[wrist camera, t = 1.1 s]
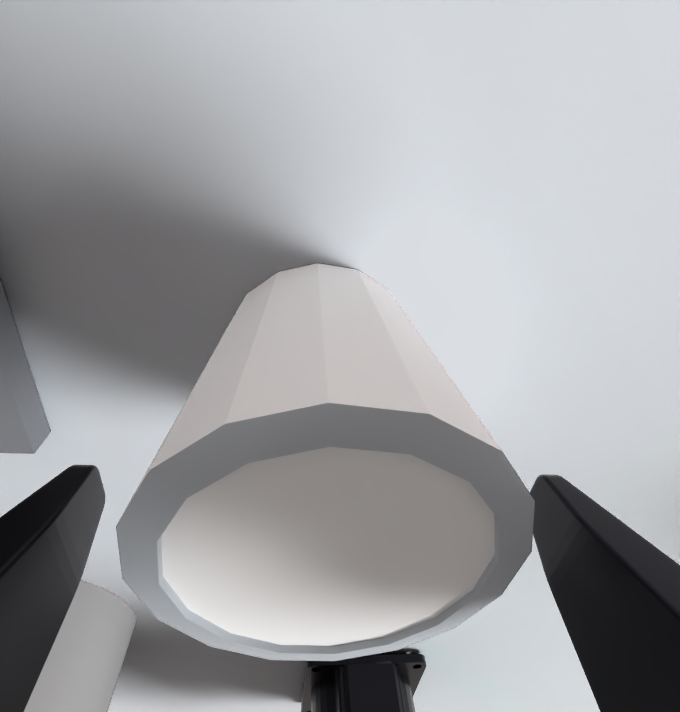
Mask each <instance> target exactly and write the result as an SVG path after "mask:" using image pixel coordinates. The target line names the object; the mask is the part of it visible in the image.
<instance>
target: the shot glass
mask: <svg viewBox="0 0 680 712" xmlns="http://www.w3.org/2000/svg"><path fill="white" fill-rule="evenodd" d="M534 507H535V500H534V499H533V497H532V496H531V494H530V493H529V491H528V490H527V488H526V487H525V485H524V484H523V482H522V481H521V479H520V478H519V476H518V475H517V473H516V472H515V470H514V469H513V467H512V465H511V464H510V462H509V461H508V459H507V458H506V456H505V455H504V453H503V452H502V450H501V449H500V447H499V446H498V445H497V443H496V442H495V440H494V439H493V437H492V436H491V435H490V433H489V432H488V430H487V429H486V427H485V426H484V425H483V423H482V422H481V420H480V419H479V417H478V416H477V415H476V413H475V412H474V410H473V409H472V407H471V406H470V405H469V403H468V402H467V400H466V399H465V397H464V396H463V395H462V393H461V392H460V390H459V389H458V387H457V386H456V385H455V383H454V382H453V380H452V379H451V377H450V376H449V375H448V373H447V372H446V370H445V369H444V367H443V366H442V365H441V363H440V362H439V360H438V359H437V357H436V356H435V355H434V353H433V352H432V350H431V349H430V347H429V346H428V345H427V343H426V342H425V340H424V339H423V337H422V336H421V334H420V333H419V332H418V330H417V329H416V327H415V326H414V324H413V323H412V322H411V320H410V319H409V317H408V316H407V314H406V313H405V312H404V310H403V309H402V307H401V306H400V304H399V303H398V302H397V300H396V299H395V297H394V296H393V294H392V293H391V292H390V290H389V289H388V288H386V287H384V286H383V285H381V284H380V283H378V282H376V281H375V280H373V279H371V278H370V277H368V276H367V275H365V274H363V273H362V272H360V271H358V270H356V269H350V268H344V267H338V266H332V265H326V264H319V263H316V264H312V265H307V266H302V267H298V268H293V269H289V270H284V271H280V272H277V273H276V274H274V275H273V276H271V277H270V278H269V279H267V280H266V281H264V282H263V283H261V284H260V285H259V286H257V287H256V288H254V289H253V290H251V291H250V292H249V293H247V294H246V296H245V298H244V299H243V301H242V303H241V304H240V306H239V308H238V310H237V311H236V313H235V315H234V316H233V318H232V320H231V322H230V323H229V325H228V327H227V329H226V330H225V332H224V334H223V336H222V338H221V339H220V341H219V343H218V345H217V347H216V348H215V350H214V352H213V354H212V356H211V357H210V359H209V361H208V363H207V364H206V366H205V368H204V370H203V372H202V373H201V375H200V377H199V379H198V381H197V382H196V384H195V386H194V388H193V390H192V391H191V393H190V395H189V397H188V399H187V400H186V402H185V404H184V406H183V407H182V409H181V411H180V413H179V415H178V416H177V418H176V420H175V422H174V424H173V425H172V427H171V429H170V431H169V433H168V434H167V436H166V438H165V440H164V442H163V443H162V445H161V447H160V449H159V450H158V452H157V454H156V456H155V458H154V459H153V461H152V463H151V465H150V467H149V468H148V470H147V472H146V474H145V476H144V477H143V479H142V481H141V483H140V485H139V486H138V488H137V490H136V492H135V494H134V495H133V497H132V499H131V501H130V502H129V504H128V506H127V508H126V510H125V511H124V513H123V515H122V517H121V519H120V520H119V522H118V524H117V526H116V530H117V539H118V547H119V555H120V563H121V571H122V579H123V580H124V581H125V582H126V584H127V585H128V586H129V587H130V588H131V589H132V591H133V592H134V593H135V594H136V595H137V596H138V598H139V599H140V600H141V601H142V602H143V603H144V605H145V606H146V607H147V608H148V609H149V610H150V612H151V613H152V614H153V615H154V616H155V617H156V619H157V620H159V621H161V622H163V623H165V624H167V625H169V626H171V627H173V628H175V629H176V630H178V631H180V632H182V633H184V634H186V635H188V636H190V637H192V638H194V639H196V640H198V641H200V642H202V643H204V644H206V645H207V646H209V647H213V648H218V649H222V650H227V651H232V652H236V653H241V654H245V655H250V656H254V657H259V658H263V659H268V660H295V661H338V660H344V659H350V658H355V657H361V656H367V655H372V654H378V653H384V652H390V651H395V650H399V649H402V648H404V647H407V646H409V645H412V644H415V643H417V642H420V641H422V640H425V639H427V638H430V637H433V636H435V635H438V634H440V633H443V632H445V631H448V630H451V629H453V628H455V627H457V626H458V625H460V624H461V623H462V622H464V621H465V620H467V619H468V618H469V617H471V616H472V615H474V614H475V613H477V612H478V611H479V610H481V609H482V608H484V607H485V606H486V605H488V604H489V603H491V602H492V601H493V600H495V599H496V598H498V597H499V596H501V595H502V594H503V592H504V591H505V589H506V588H507V586H508V585H509V583H510V582H511V581H512V579H513V578H514V576H515V575H516V573H517V572H518V570H519V569H520V567H521V566H522V565H523V563H524V562H525V560H526V559H527V557H528V556H529V554H530V553H531V551H532V538H533V522H534Z"/></svg>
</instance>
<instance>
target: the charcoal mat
mask: <svg viewBox="0 0 680 712" xmlns="http://www.w3.org/2000/svg"><path fill="white" fill-rule="evenodd" d="M50 432H51V430H50V427H49V424H48V421H47V418H46V415H45V412H44V409H43V406H42V403H41V400H40V397H39V394H38V391H37V388H36V385H35V382H34V379H33V376H32V373H31V370H30V367H29V364H28V361H27V358H26V355H25V352H24V349H23V346H22V343H21V340H20V337H19V334H18V331H17V328H16V325H15V322H14V319H13V316H12V313H11V310H10V307H9V304H8V301H7V298H6V295H5V292H4V289H3V286H2V283H1V280H0V453H27V454H34V453H35V452H36V451H37V449H38V448H39V447H40V445H41V444H42V443H43V441H44V440H45V439H46V437H47V436H48V435H49V433H50Z"/></svg>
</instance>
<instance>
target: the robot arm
mask: <svg viewBox="0 0 680 712" xmlns="http://www.w3.org/2000/svg"><path fill="white" fill-rule="evenodd" d="M530 494H531V496H532V497H533V499H534V500H535V507H534V522H533V535H534V538H535V542H536V545H537V548H538V552H539V555H540V558H541V562H542V565H543V568H544V572H545V575H546V578H547V581H548V583H549V586H550V588H551V591H552V594H553V596H554V599H555V601H556V604H557V606H558V608H559V611H560V613H561V616H562V618H563V621H564V623H565V626H566V628H567V630H568V633H569V635H570V638H571V640H572V643H573V645H574V648H575V650H576V653H577V655H578V657H579V660H580V662H581V665H582V667H583V670H584V672H585V675H586V677H587V680H588V682H589V684H590V687H591V689H592V692H593V694H594V697H595V699H596V702H597V704H598V707H599V709H600V711H601V712H680V565H679V564H678V563H676V562H675V561H674V560H672V559H671V558H669V557H668V556H667V555H665V554H664V553H663V552H661V551H660V550H659V549H657V548H656V547H655V546H653V545H652V544H651V543H649V542H648V541H647V540H645V539H644V538H643V537H641V536H640V535H639V534H637V533H636V532H635V531H633V530H632V529H631V528H629V527H628V526H627V525H625V524H624V523H623V522H621V521H620V520H619V519H617V518H616V517H615V516H613V515H612V514H611V513H609V512H608V511H607V510H605V509H604V508H603V507H601V506H600V505H599V504H597V503H596V502H595V501H593V500H592V499H591V498H589V497H588V496H587V495H585V494H584V493H583V492H581V491H580V490H579V489H577V488H576V487H575V486H573V485H572V484H571V483H569V482H568V481H567V480H565V479H564V478H562V477H561V476H558V475H540V476H539V477H537V479H536V481H535V483H534V485H533V487H532V489H531V491H530ZM104 504H105V492H104V488H103V484H102V481H101V477H100V473H99V470H98V468H97V467H96V466H94V465H73V466H71V467H69V468H67V469H66V470H65V471H63V472H62V473H60V474H59V475H58V476H56V477H55V478H54V479H52V480H51V481H50V482H48V483H47V484H45V485H44V486H43V487H41V488H40V489H39V490H37V491H36V492H34V493H33V494H32V495H30V496H29V497H28V498H26V499H25V500H24V501H22V502H21V503H19V504H18V505H17V506H15V507H14V508H13V509H11V510H10V511H8V512H7V513H6V514H4V515H3V516H2V517H0V712H24V710H25V708H26V706H27V703H28V701H29V699H30V696H31V694H32V692H33V690H34V687H35V685H36V683H37V680H38V678H39V676H40V674H41V671H42V669H43V667H44V664H45V662H46V660H47V658H48V655H49V653H50V651H51V648H52V646H53V644H54V642H55V639H56V637H57V635H58V632H59V630H60V628H61V626H62V623H63V621H64V619H65V616H66V614H67V612H68V610H69V607H70V605H71V603H72V600H73V598H74V596H75V593H76V591H77V588H78V586H79V583H80V580H81V577H82V574H83V571H84V568H85V565H86V562H87V559H88V556H89V552H90V549H91V546H92V543H93V540H94V537H95V533H96V530H97V527H98V524H99V521H100V518H101V514H102V511H103V508H104ZM425 668H426V662H425V657H424V656H423V655H422V654H396V655H367V656H361V657H355V658H350V659H344V660H338V661H307V664H306V672H305V679H304V687H303V695H302V703H301V712H415V708H414V703H413V695H414V693H415V690H416V688H417V686H418V684H419V681H420V679H421V677H422V674H423V672H424V670H425Z"/></svg>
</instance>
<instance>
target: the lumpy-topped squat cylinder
mask: <svg viewBox="0 0 680 712" xmlns="http://www.w3.org/2000/svg"><path fill="white" fill-rule="evenodd" d="M136 620H137V618H136V614H135V612H134V610H133V609H132V608H131V606H130V605H129V604H128V603H127V602H125V601H124V600H123V599H122V598H120V597H119V596H117V595H115V594H114V593H112V592H110V591H108V590H106V589H103V588H101V587H99V586H96V585H93V584H90V583H87V582H84V581H81V580H80V583H79V586H78V588H77V591H76V593H75V596H74V598H73V600H72V603H71V605H70V607H69V610H68V612H67V614H66V616H65V619H64V621H63V623H62V626H61V628H60V630H59V632H58V635H57V637H56V639H55V642H54V644H53V646H52V648H51V651H50V653H49V655H48V658H47V660H46V662H45V664H44V667H43V669H42V671H41V674H40V676H39V678H38V680H37V683H36V685H35V687H34V690H33V692H32V694H31V696H30V699H29V701H28V703H27V706H26V708H25V710H24V712H107V711H108V708H109V705H110V702H111V699H112V696H113V693H114V690H115V686H116V683H117V680H118V677H119V674H120V671H121V668H122V665H123V661H124V658H125V655H126V652H127V649H128V646H129V643H130V640H131V636H132V633H133V630H134V627H135V624H136Z"/></svg>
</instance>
